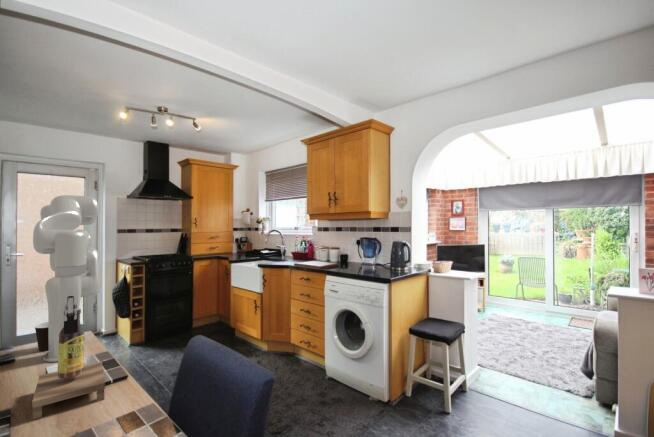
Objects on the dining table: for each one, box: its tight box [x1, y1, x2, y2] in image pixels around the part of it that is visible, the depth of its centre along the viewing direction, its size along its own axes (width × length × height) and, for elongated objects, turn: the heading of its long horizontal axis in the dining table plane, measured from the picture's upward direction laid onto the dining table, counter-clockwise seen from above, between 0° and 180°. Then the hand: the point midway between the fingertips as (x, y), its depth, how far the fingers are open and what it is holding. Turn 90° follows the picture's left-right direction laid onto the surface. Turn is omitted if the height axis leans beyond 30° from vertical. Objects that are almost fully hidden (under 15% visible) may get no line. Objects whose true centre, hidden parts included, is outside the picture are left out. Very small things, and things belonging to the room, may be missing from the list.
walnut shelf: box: [31, 361, 106, 420], centre depth 97 cm, size 18×16×5 cm
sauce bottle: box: [57, 307, 85, 379], centre depth 97 cm, size 6×6×20 cm
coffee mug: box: [34, 321, 49, 353], centre depth 133 cm, size 12×9×10 cm
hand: (71, 329), depth 97 cm, fingers closed on sauce bottle, 5 cm apart
